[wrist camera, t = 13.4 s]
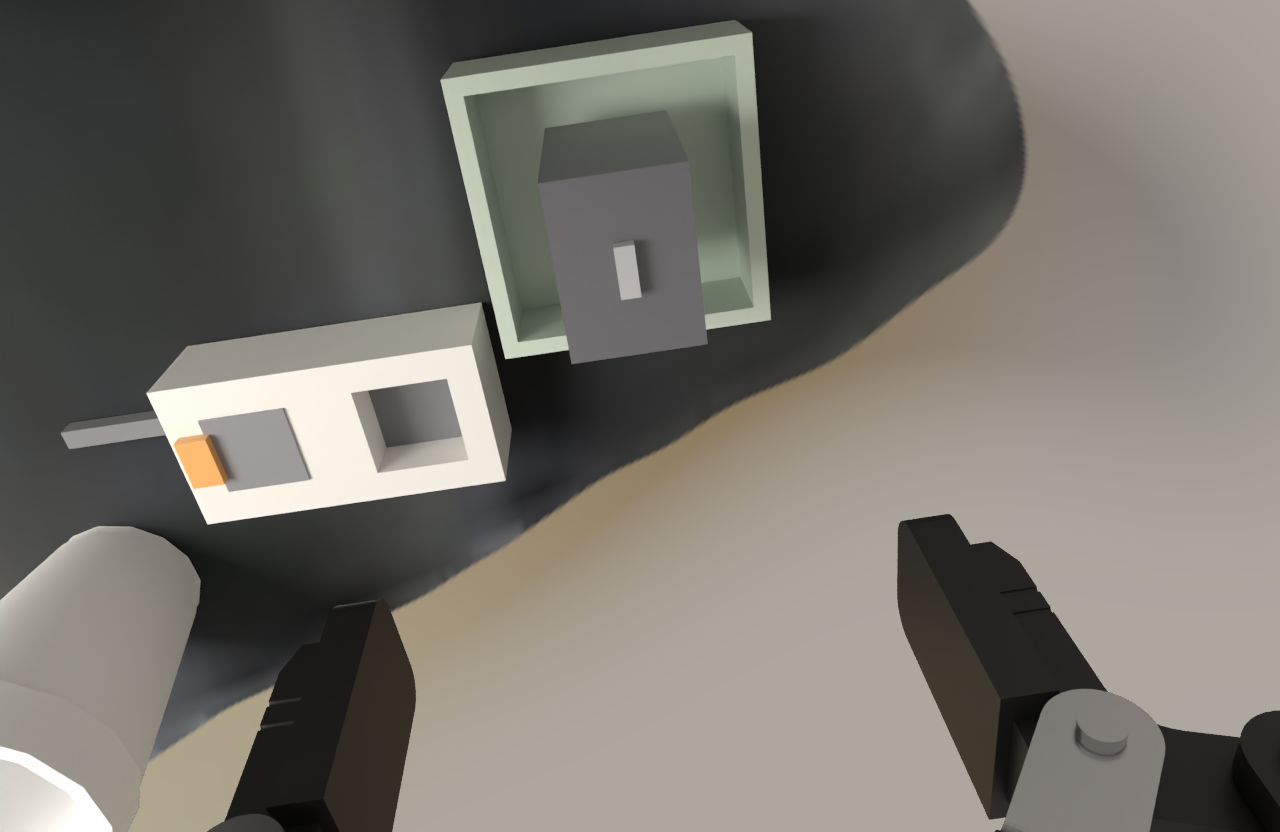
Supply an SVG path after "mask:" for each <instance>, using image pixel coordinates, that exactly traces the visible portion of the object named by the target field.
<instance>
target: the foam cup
mask: <svg viewBox="0 0 1280 832" xmlns="http://www.w3.org/2000/svg"><path fill="white" fill-rule="evenodd" d="M200 583H201V580H200V578H199V576H198V574H197V573H196V571H195V569H194V567H193V565H192V563H191V561H190V559H189V558H188V557H187V556H186V555H185V554H184V553H182V552H181V551H180V550H179V549H177V548H176V547H175V546H174V545H172V544H171V543H170V542H168V541H167V540H166V539H165V538H163V537H160V536H157V535H154V534H152V533H149V532H146V531H143V530H140V529H137V528H134V527H132V526H97V527H95V528H92V529H90V530H87V531H85V532H83V533H80V534H78V535H75V536H73V537H71V539H70V540H69V541H68V542H67V543H65V544H63V545H62V546H61V547H59V548H58V549H57V550H56V551H55V552H54V553H53V554H52V555H50V556H49V557H48V558H47V559H46V560H45V561H44V562H43V563H41V564H40V565H39V566H38V567H37V568H36V569H35V570H34V571H33V572H31V573H30V574H29V575H28V576H27V577H26V578H25V579H24V580H22V581H21V582H20V583H19V584H18V585H17V586H16V587H15V588H14V589H12V590H11V591H10V592H9V593H8V594H7V595H6V596H5V597H3V598H2V599H1V600H0V832H128V830H129V828H130V826H131V824H132V821H133V819H134V817H135V815H136V813H137V811H138V809H139V802H140V801H139V799H140V785H141V782H142V779H143V776H144V773H145V770H146V767H147V764H148V761H149V758H150V755H151V751H152V748H153V745H154V742H155V739H156V736H157V733H158V730H159V727H160V724H161V720H162V717H163V714H164V711H165V708H166V705H167V702H168V699H169V696H170V693H171V689H172V686H173V683H174V680H175V677H176V674H177V671H178V668H179V665H180V662H181V659H182V655H183V652H184V649H185V646H186V643H187V640H188V637H189V634H190V631H191V628H192V624H193V621H194V618H195V615H196V609H197V606H198V604H199V597H200Z"/></svg>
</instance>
